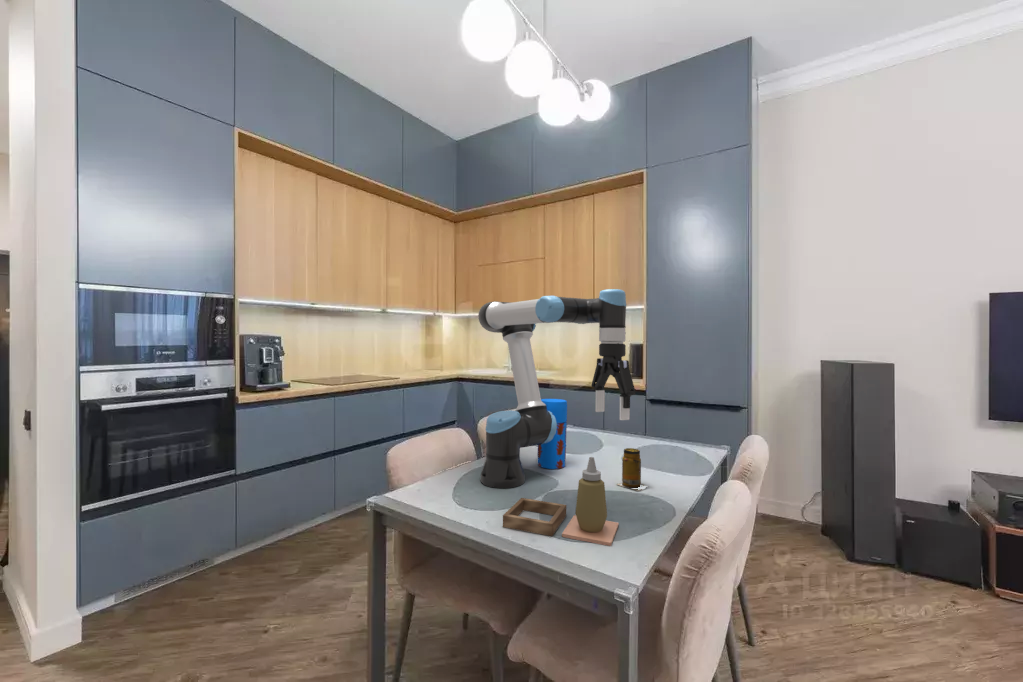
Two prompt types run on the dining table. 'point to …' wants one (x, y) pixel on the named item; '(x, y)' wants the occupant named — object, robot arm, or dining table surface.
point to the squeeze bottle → (591, 499)
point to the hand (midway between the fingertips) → (611, 415)
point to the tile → (599, 537)
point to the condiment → (631, 469)
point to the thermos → (555, 437)
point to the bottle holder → (535, 525)
